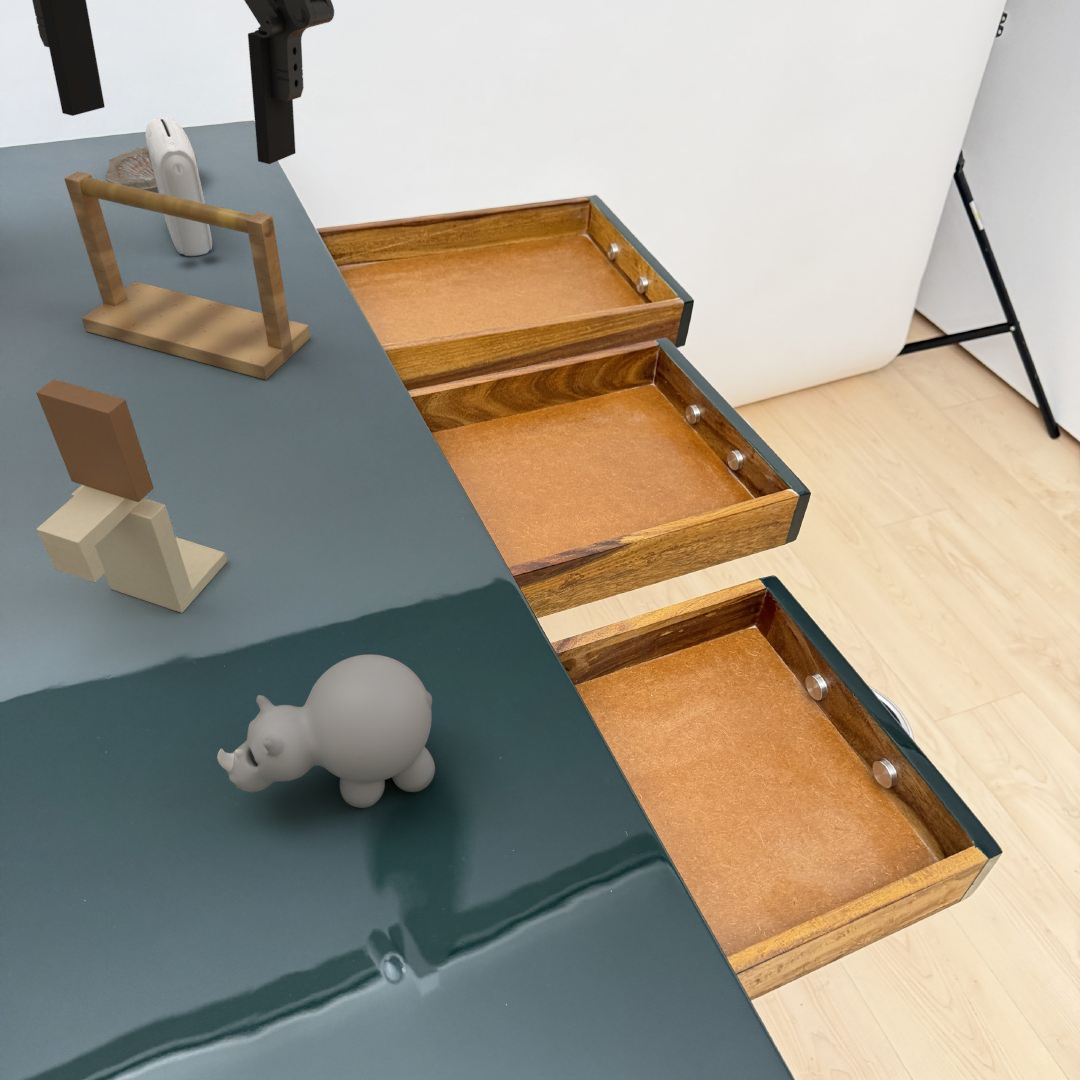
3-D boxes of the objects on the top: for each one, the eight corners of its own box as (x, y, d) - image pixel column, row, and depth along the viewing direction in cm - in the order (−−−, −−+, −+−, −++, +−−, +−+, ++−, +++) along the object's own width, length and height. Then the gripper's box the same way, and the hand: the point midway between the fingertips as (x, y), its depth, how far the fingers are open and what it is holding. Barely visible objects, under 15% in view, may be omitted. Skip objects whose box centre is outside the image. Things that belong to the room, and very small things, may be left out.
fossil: (109, 211, 107) (100, 188, 105) (120, 168, 115) (111, 146, 113) (198, 201, 108) (191, 178, 106) (203, 159, 116) (196, 137, 114)
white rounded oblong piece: (218, 254, 99) (194, 139, 91) (177, 259, 98) (150, 144, 89) (201, 215, 106) (178, 105, 97) (163, 220, 104) (136, 108, 96)
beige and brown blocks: (67, 631, 61) (-29, 431, 49) (158, 539, 67) (92, 343, 55) (143, 658, 59) (62, 459, 48) (227, 561, 66) (175, 365, 54)
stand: (85, 331, 87) (38, 191, 77) (138, 294, 92) (100, 158, 83) (266, 380, 83) (240, 238, 73) (310, 338, 88) (291, 201, 79)
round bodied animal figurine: (227, 750, 55) (198, 664, 49) (418, 703, 58) (413, 616, 52) (240, 857, 50) (209, 776, 44) (448, 798, 53) (446, 715, 47)
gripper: (400, -323, 41) (394, 162, 54) (-40, -373, 46) (54, 81, 59) (310, -355, 35) (329, 196, 48) (-180, -409, 40) (-41, 103, 53)
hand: (178, 134), depth 54 cm, fingers open, 13 cm apart
